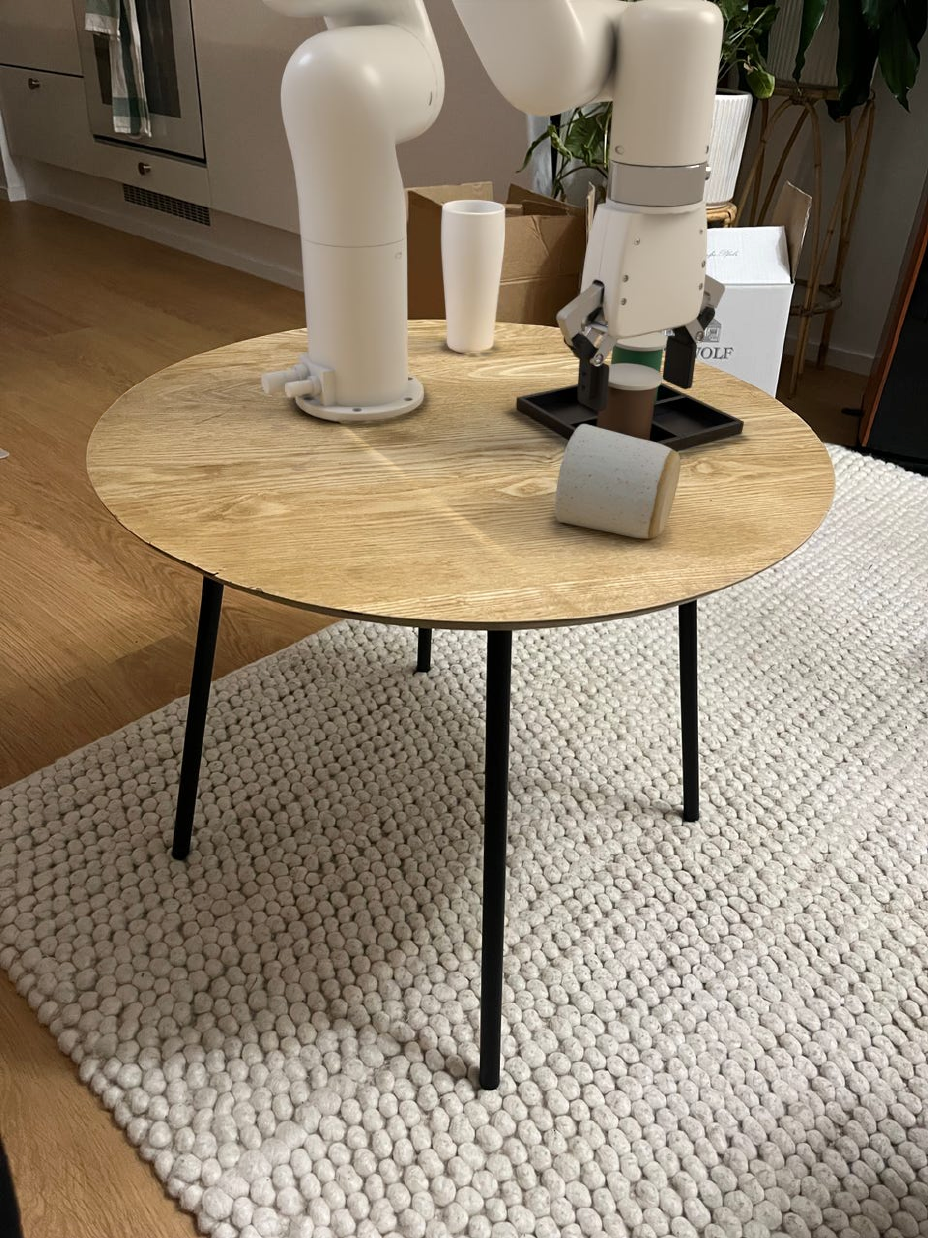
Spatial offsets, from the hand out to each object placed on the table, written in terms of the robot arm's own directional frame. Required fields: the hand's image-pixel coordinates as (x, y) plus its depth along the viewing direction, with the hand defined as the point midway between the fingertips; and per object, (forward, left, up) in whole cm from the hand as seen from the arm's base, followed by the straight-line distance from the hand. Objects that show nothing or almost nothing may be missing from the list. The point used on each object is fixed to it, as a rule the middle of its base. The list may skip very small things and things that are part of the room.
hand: (635, 394), depth 87 cm
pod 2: (0, +1, -5) cm, 5 cm away
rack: (+3, +4, -5) cm, 7 cm away
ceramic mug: (-10, -10, -5) cm, 15 cm away
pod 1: (+7, +8, -5) cm, 11 cm away
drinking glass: (+2, +30, -5) cm, 31 cm away
